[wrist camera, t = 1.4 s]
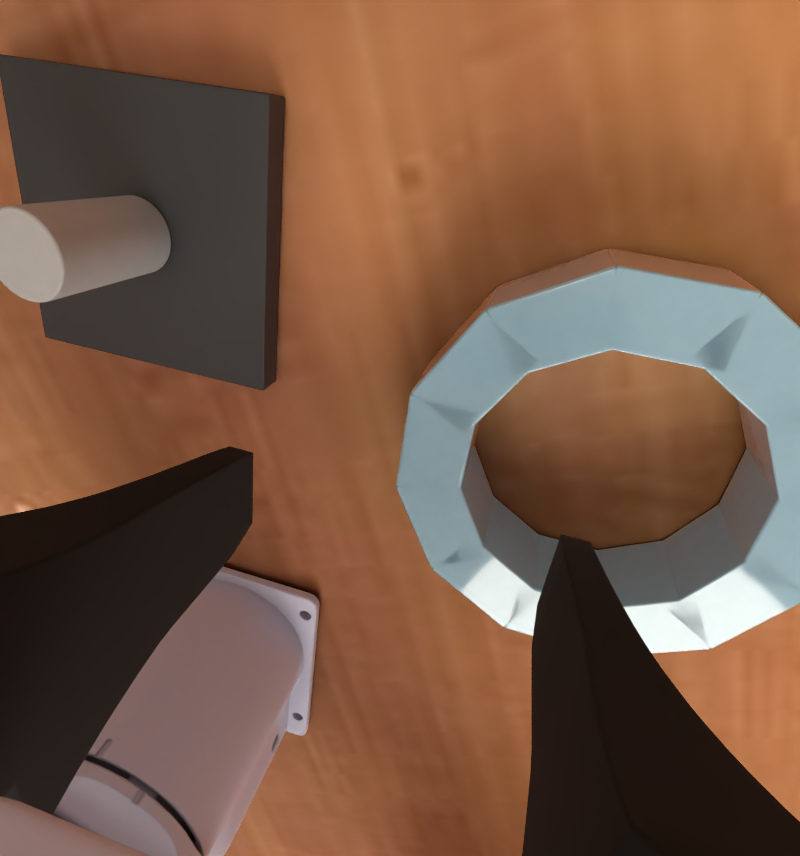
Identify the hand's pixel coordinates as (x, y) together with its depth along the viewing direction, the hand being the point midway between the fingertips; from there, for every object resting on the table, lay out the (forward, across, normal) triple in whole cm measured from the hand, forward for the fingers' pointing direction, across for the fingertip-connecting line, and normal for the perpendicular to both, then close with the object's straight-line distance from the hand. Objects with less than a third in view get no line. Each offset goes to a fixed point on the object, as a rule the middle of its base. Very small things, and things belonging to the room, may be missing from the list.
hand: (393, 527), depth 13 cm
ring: (+7, -5, 0) cm, 9 cm away
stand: (+7, +11, -4) cm, 14 cm away
